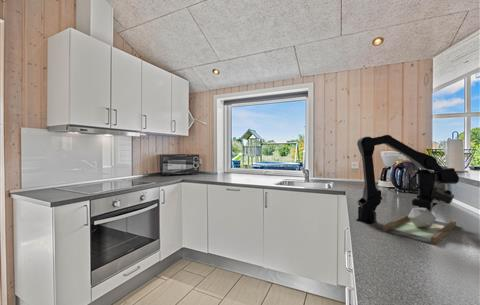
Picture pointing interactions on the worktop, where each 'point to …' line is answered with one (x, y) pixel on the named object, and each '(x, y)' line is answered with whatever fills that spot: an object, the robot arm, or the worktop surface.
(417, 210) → the die
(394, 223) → the box
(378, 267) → the worktop surface
